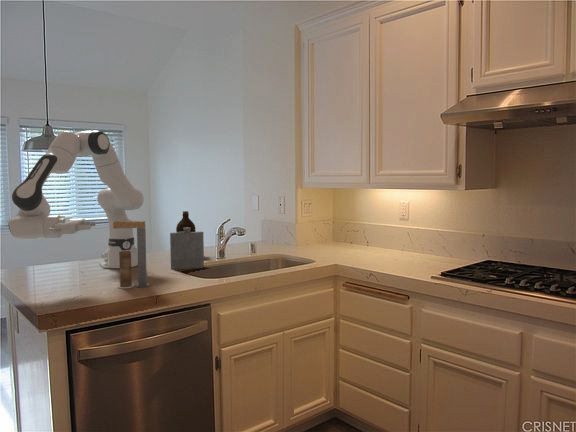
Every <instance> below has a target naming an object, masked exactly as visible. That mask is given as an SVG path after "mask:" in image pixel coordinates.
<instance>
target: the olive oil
mask: <svg viewBox="0 0 576 432" xmlns="http://www.w3.org/2000/svg"><path fill="white" fill-rule="evenodd" d="M186 227H189V228H191V229H190V232H196V225H195V223H194V222H193V221H192V220H191V219H190V217H189V210H188V211H186V210H182V218H181V219H180V220H179V222H177V224H176V228H175V233H177V232H184V230H183V228H186Z"/></svg>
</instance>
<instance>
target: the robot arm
mask: <svg viewBox="0 0 576 432" xmlns="http://www.w3.org/2000/svg"><path fill="white" fill-rule="evenodd" d="M90 156H91V158H92V161H93V164H94V167H95V169H96V172H97V175H98V177H99V180H100V181H101V182H102V184H104V185H106V188H103V189H100V191H99V192H98V194H97V198H96V199H97V203H98V205H99V207H101V209H103V211H104V213H105V215H106V217H107V220H108V221H107V222H108V227H109V238H108V242H107V243H108V245H107V248H106V249H105V251H104V252H103V253H101V258H102V259H103V260H102V261H99V262H98V264H99V265H100V267H102V268H103V269H120V263H119V252H120V251H131V268H134V267H138V252H137V247H136V246H135V241H136V240H135V237H134V228H113V222H116V221H133V220H132V219H131V218H130V217H129V215H128V214H127V212H126V211H134V210H139V209H140V208H141V207H142V206H143V204H144V200H145V198H144V194H143V192H142V191H141V190H140V189H138V188H136V187H135V186H134V185H133V184H132V183H131V181H130V180H129V178H128V177H127V176H126V174H125V172H124V170H123V167H122V165H121V162H120V159H119V156H118V155H117V152H116V150H115V148H114V146H113V144H112V142H110V139H109V137H108V135H107V134H106V133H105V132H104V131H101V130H95V129H94V130H82V131H78V132H73V131H69V130H64V131H61V132H59V133H58V134H57V135H56V136H55V137H54V139H53V140H52V141H51V143H50V145H49V146H48V148H47V150H46V152H45V154H43V155H42V156H41V157H40V158H39V159H38V161H37V162H36V163H35V165H34V166H33V167H32V169H31V171H30V172H29V173H28V175H27V176H26V178H25V179H24V180H23V181H22V182H21V183H20V184H19V185H17V186H16V188H15V189H14V190H13V192H12V195H11V199H12V202H13V204H14V205H15V206H16V207H18V211H17V212H16V214H15V215H14V216H13V217H11V218H10V219H8V230H9V232H10V234H11V235H12V236H13V237H14V238H16V239H20V240H21V239H22V240H23V239H25V240H35V239H39V238H43V239H59V238H62V236H63V235H73V234H74V235H75V233H77V232H80V231H85V230H86V231H87V230H90V229H91V227H96V225H97V224H96V221H88V220H86V219H85V218H83V217H82V218H81V217H66V216H65V215H62V216H61V215H60V214H58V215H57V214H56V215H50V214H51V206H50V204H49V202H48V200H47V199H46V197H45V195H44V194H43V186H44V185H45V183H46V181H47V180H48V178H49V177H50V175H52V174H56V175H57V174H58V175H63V174H66V173H68V172H69V171H70V170H71V169H72V167H73V165H74V163H75V162H76V159H77V157H90Z"/></svg>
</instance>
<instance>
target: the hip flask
mask: <svg viewBox="0 0 576 432" xmlns="http://www.w3.org/2000/svg"><path fill="white" fill-rule="evenodd" d="M190 229H191V228H189V227H186V228H183V230H184V232H177V233H176V232H170V233H169V239H170V240H169V244H170V247H169V248H170V249H169V250H170V270H190V269H191V270H193V269H203V268H204V267H205V262H204V261H205V259H204V258H205V257H204V256H205V255H204V253H205V252H204V251H205V250H204V247H205V246H204V244H205V242H204V231H195V232H190Z"/></svg>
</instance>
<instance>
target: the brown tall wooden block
mask: <svg viewBox="0 0 576 432" xmlns="http://www.w3.org/2000/svg"><path fill="white" fill-rule="evenodd" d="M119 263H120V268H119V285H120V287H130V286H132V284H133V282H132V281H133V280H132V267H131V251H120V252H119Z"/></svg>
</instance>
